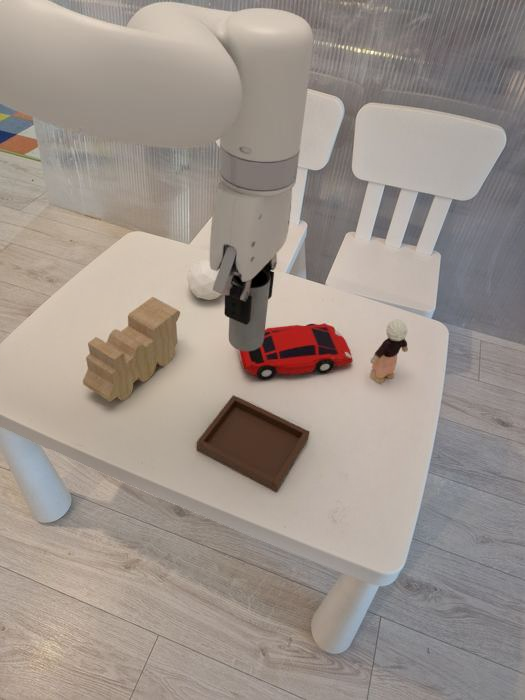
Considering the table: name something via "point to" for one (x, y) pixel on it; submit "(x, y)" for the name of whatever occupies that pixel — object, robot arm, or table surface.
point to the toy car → (297, 351)
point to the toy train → (132, 350)
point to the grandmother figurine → (389, 351)
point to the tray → (253, 442)
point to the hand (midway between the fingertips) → (248, 305)
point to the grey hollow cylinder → (252, 315)
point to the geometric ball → (202, 280)
